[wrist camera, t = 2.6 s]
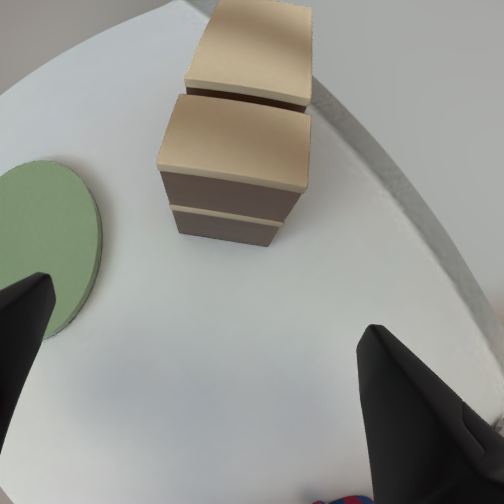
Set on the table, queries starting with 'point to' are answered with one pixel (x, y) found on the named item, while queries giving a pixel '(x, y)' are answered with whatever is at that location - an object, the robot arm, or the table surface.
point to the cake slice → (233, 167)
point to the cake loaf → (255, 55)
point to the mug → (351, 500)
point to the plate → (50, 234)
